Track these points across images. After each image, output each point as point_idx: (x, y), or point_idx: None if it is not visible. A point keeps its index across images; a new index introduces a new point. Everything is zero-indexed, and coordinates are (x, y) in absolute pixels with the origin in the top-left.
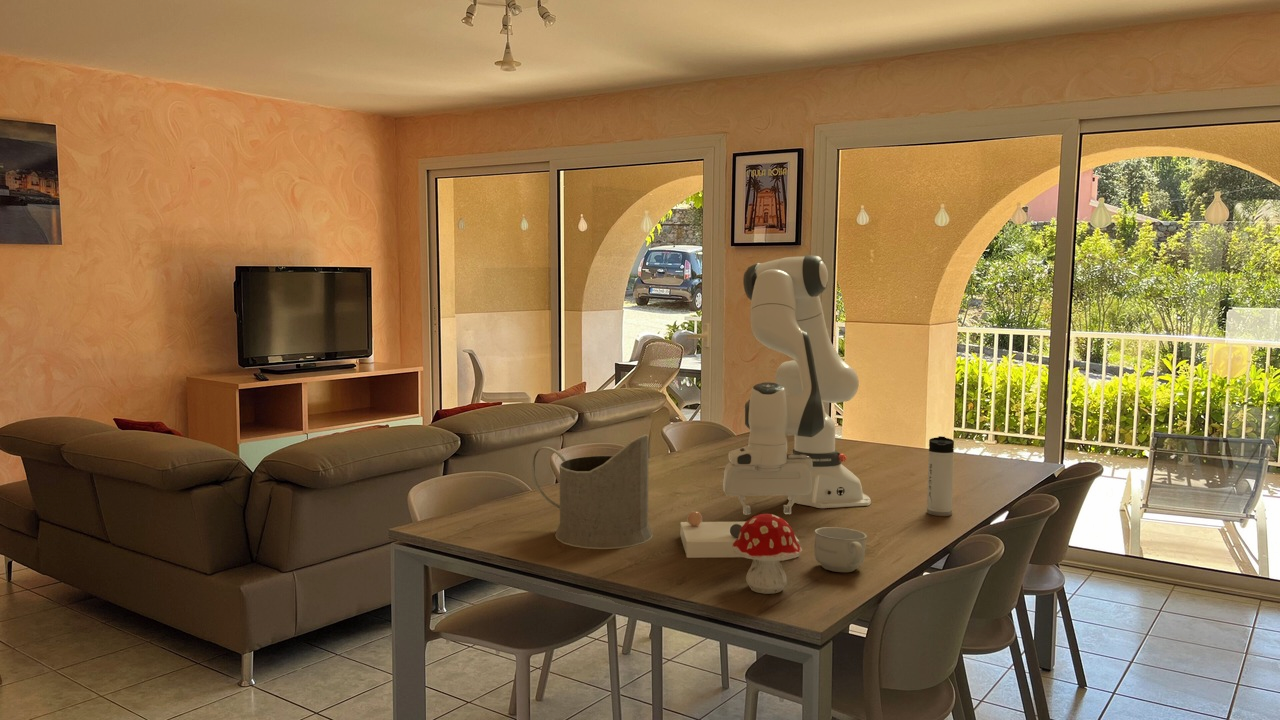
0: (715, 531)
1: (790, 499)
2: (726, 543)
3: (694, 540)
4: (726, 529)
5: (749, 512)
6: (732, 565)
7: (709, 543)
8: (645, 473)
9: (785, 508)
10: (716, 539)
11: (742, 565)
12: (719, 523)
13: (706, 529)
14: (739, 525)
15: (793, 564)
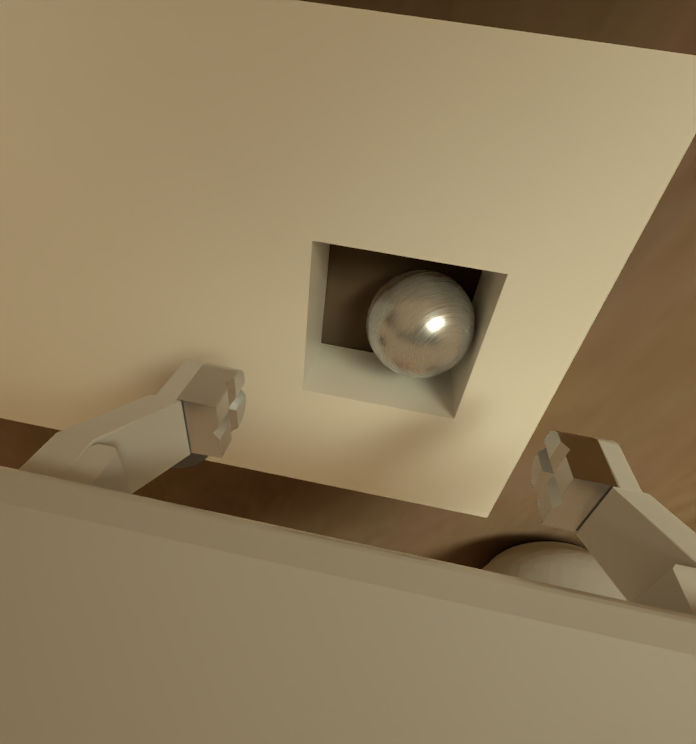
0: (73, 282)
1: (667, 557)
2: None
3: (6, 402)
4: (137, 252)
5: (231, 425)
6: (205, 470)
7: None
8: None
9: (541, 511)
10: (102, 410)
11: (237, 478)
12: (63, 47)
13: (7, 224)
14: (180, 464)
15: (413, 510)
